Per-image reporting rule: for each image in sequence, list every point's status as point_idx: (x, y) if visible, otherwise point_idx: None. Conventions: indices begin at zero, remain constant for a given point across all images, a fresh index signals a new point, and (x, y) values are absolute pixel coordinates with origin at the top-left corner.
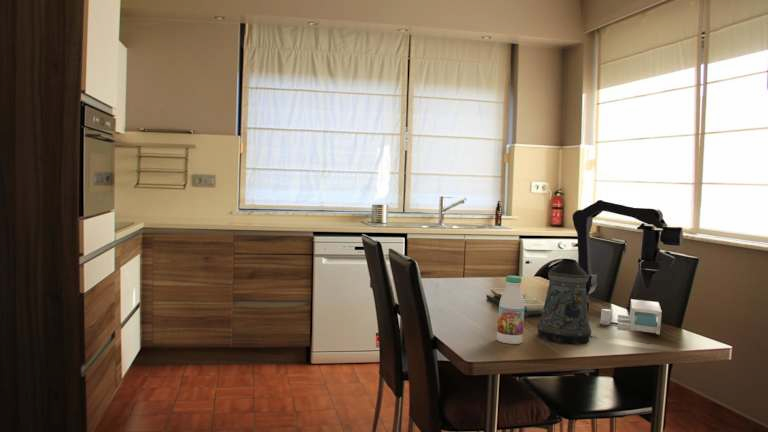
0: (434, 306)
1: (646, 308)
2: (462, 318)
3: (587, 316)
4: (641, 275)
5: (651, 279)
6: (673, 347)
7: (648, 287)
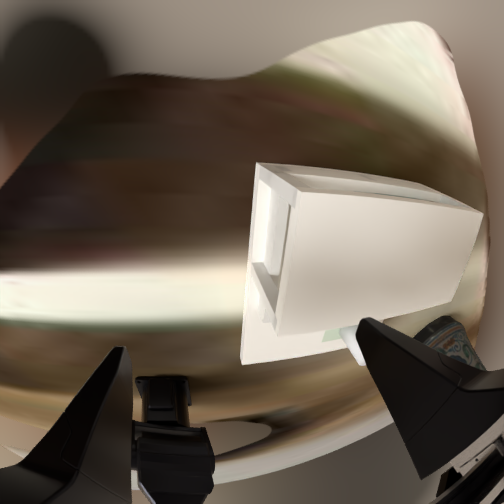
0: (272, 471)
1: (456, 261)
2: (332, 443)
3: (467, 347)
4: (129, 448)
5: (439, 353)
6: (468, 169)
7: (372, 321)
